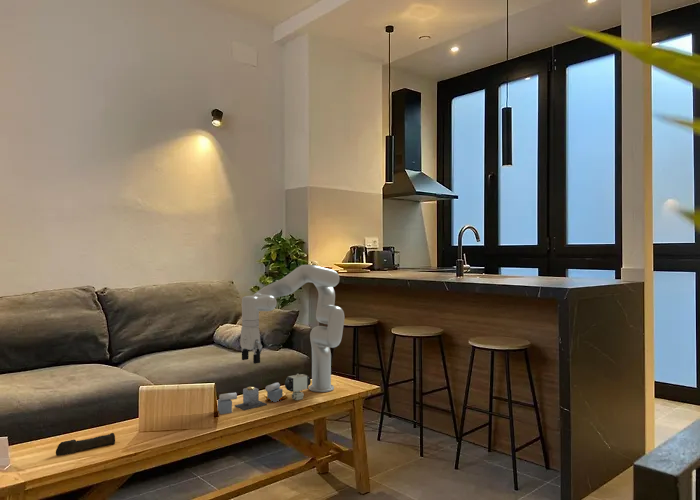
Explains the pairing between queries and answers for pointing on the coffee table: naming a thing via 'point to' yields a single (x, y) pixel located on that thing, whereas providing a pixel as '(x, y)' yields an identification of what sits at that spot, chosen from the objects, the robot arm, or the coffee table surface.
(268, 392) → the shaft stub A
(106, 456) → the coffee table surface
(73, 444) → the hand tool
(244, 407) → the pad
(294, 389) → the pneumatic valve
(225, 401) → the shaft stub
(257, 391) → the block
